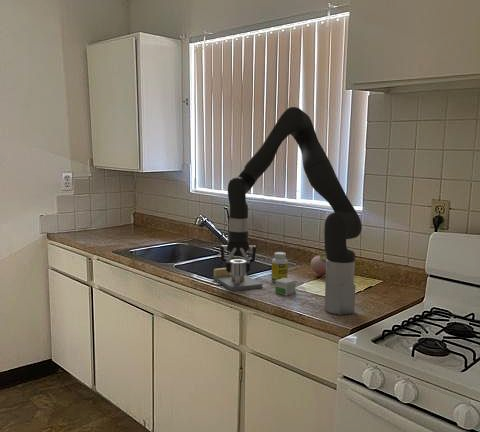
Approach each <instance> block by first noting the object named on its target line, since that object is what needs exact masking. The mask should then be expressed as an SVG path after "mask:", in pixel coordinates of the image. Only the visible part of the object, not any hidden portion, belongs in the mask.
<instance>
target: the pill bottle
mask: <svg viewBox="0 0 480 432" xmlns="http://www.w3.org/2000/svg"><path fill="white" fill-rule="evenodd" d="M273 256H274V258H273V259H272V261H271V282H273V283H275V280H278V279H282V278H288V274H289V271H288V269H289V268H288V266H289V260H288V259H287V258H286V257H287V254H286V252H283V251H277V252H276V251H275V252H274V254H273Z"/></svg>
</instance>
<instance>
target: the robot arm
mask: <svg viewBox="0 0 480 432" xmlns="http://www.w3.org/2000/svg"><path fill="white" fill-rule="evenodd" d="M288 136H292V137H293V139H294V140H295V141H296V144H297V145H298V147H299V150H300V153H301V158H302V160H301V161H302V167H303V171H304V173H305V176H306V178H307V180H308V182H309V185H310V186H311V188H312V189H313V190H314V191H315V192H317V194H319V195H320V197H321V198H323V199H324V201H326V202H327V203H328V204H329V205H330V207H331V209H332V210H333V212H331V213H329V214H328V215H327V216H326V218H325V222H324V229H323V232H324V233H323V234H324V235H323V236H324V237H323V239H324V251H325V253H326V257H327V259H326V274H325V286H324V287H325V289H324V310H325V311H326V312H327V313H330V314H335V315H338V316H344V315H348V314H355V307H356V305H355V303H356V284H355V266H356V265H355V263H356V253H355V252H354V251H353V250H351V249H348V247H347V240H352V239H356V238H358V237H359V236H360V235H361V232H362V220H361V217H360V216H359V214H358V212H357V211H356V209H355V207H354V206H353V204H352V202H351V201H350V199H349V198H348V196H347V194H346V193H345V191H344V188H343V187H342V185H341V183H340V182H341V181H339V179H338V176H337V174H336V172H335V170H334V168H333V165H332V163H331V160H329V158H328V156H327V154H326V151H325V150H324V148H323V146H322V144H321V143H320V142H319V139H318V136H317V133H316V131H315V128H314V124H313V122H312V119H311V117H310V116H309V114H307V113H306V112H305V111H304V110H302V109H301V108H299V107H297V106H291V107H288V108H287V109H285V110H284V111H283V112H282V114H281V115H280V116H279V118H278V120H277V121H276V123H275V125H273V128H272V129H271V131H270V132H269V134H268V136H267V137H266V138H265V140H264V142H263V143H262V144H261V146H260V147H259V148H258V150H257V151H256V152H255V153H254V155H253V156H251V158H250V159H249V160H248V161H247V162H246V164H245V165H244V169H243V170H242V171H241V172H240V173H239V175H238V176H235V177H233V178H231V179H230V181H229V182H228V184H227V198H228V203H229V219H228V220H229V221H228V242H227V244H226V245H223V244H221V245H220V249H219V250H220V259H221V262H224V263H225V266H226V267H225V268H226V271H228V273H230V260H232V258H233V256H234V257H237V256H238V257H243V258H244V260H246V261H247V263H246V274H248V273H249V272H250V270H251V264H252V263H254V262H255V261H256V255H257V254H256V253H257V252H256V251H257V246H256V245H255V244H254V245H250V244H249V207H248V203H247V199H246V198H247V197H246V195H247V193H249V191H250V190H251V189H252V188H253V187H254V185H255V184H256V183H257V181H258V179H259V178H260V177H261V176H262V175H263V174H264V173H265V172H266V171H267V170H268V169H269V167H270V166H271V165H272V163H273V162H274V161H275V160H274V159H275V157H276V156H277V155H276V154H277V152H278V151H279V148H280V146H281V145H282V143H283V142H284V140H286V138H288ZM249 249H250V252H251V258H249V256H248V253H247V252H248V251H249ZM226 250H228V251H229V254H228V256H227V257H225V252H226Z"/></svg>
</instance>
